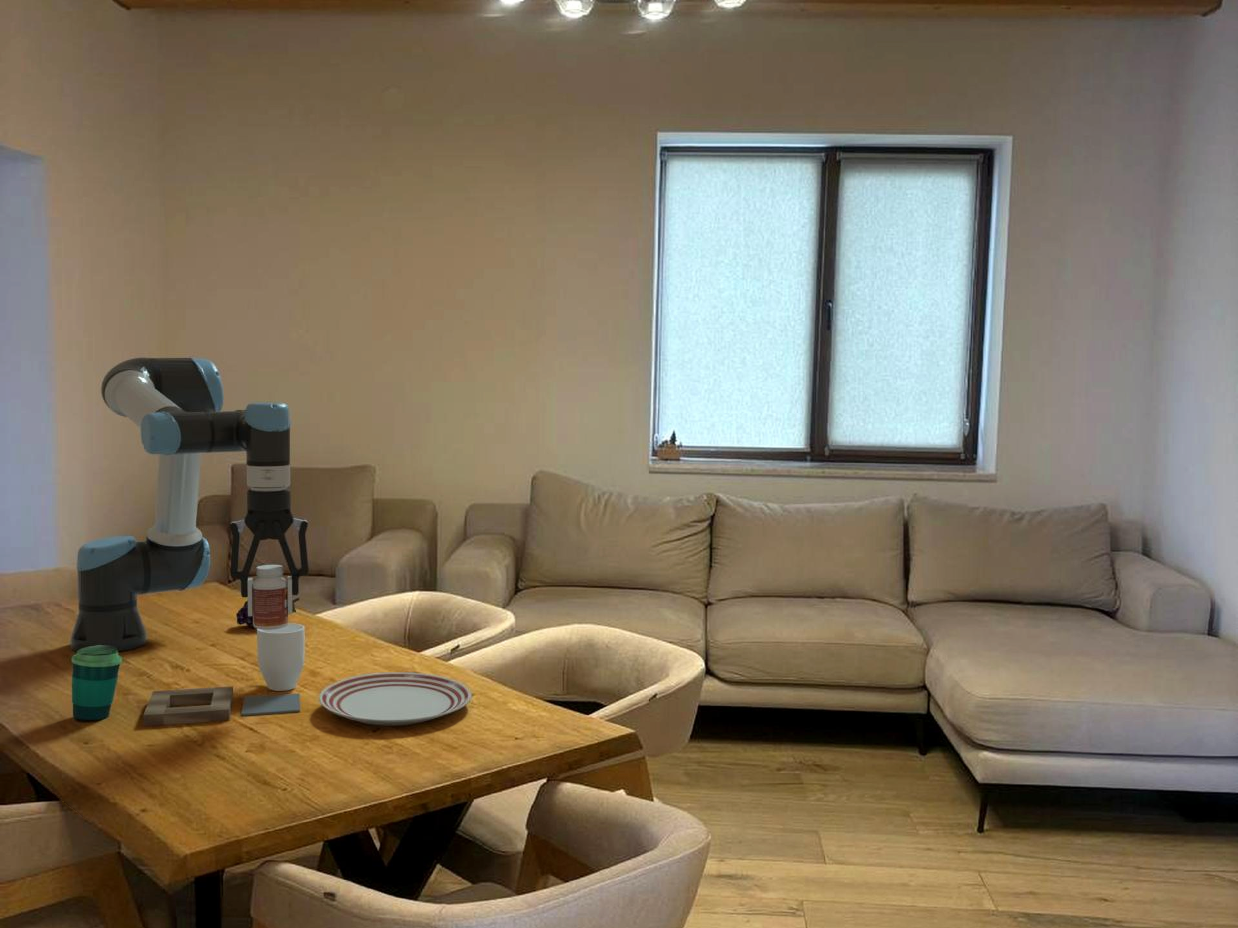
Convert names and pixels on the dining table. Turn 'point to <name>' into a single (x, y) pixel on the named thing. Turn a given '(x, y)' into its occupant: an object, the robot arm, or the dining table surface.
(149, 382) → the robot arm
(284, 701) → the coaster
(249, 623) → the fruit
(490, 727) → the dining table surface
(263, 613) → the pill bottle
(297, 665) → the mug
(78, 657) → the cup
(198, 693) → the collar
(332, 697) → the dinner plate
